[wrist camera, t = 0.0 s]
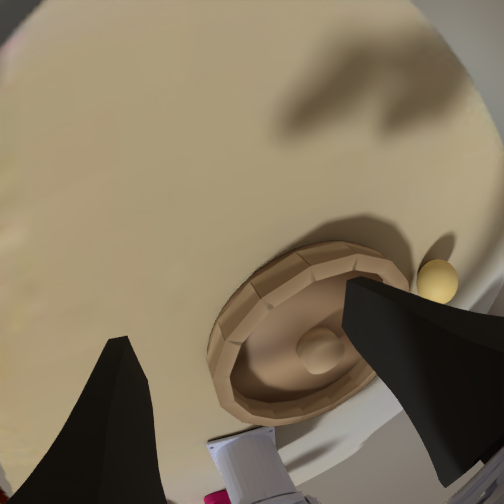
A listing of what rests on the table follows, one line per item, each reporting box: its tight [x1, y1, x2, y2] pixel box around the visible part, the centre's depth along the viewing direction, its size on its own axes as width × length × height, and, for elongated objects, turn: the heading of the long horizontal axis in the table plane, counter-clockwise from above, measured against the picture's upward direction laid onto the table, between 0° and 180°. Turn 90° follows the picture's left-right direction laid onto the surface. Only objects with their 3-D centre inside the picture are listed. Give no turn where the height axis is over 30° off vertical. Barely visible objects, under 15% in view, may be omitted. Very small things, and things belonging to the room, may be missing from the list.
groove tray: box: [207, 241, 409, 427], centre depth 24 cm, size 18×18×3 cm
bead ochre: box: [417, 259, 458, 304], centre depth 25 cm, size 5×5×5 cm
